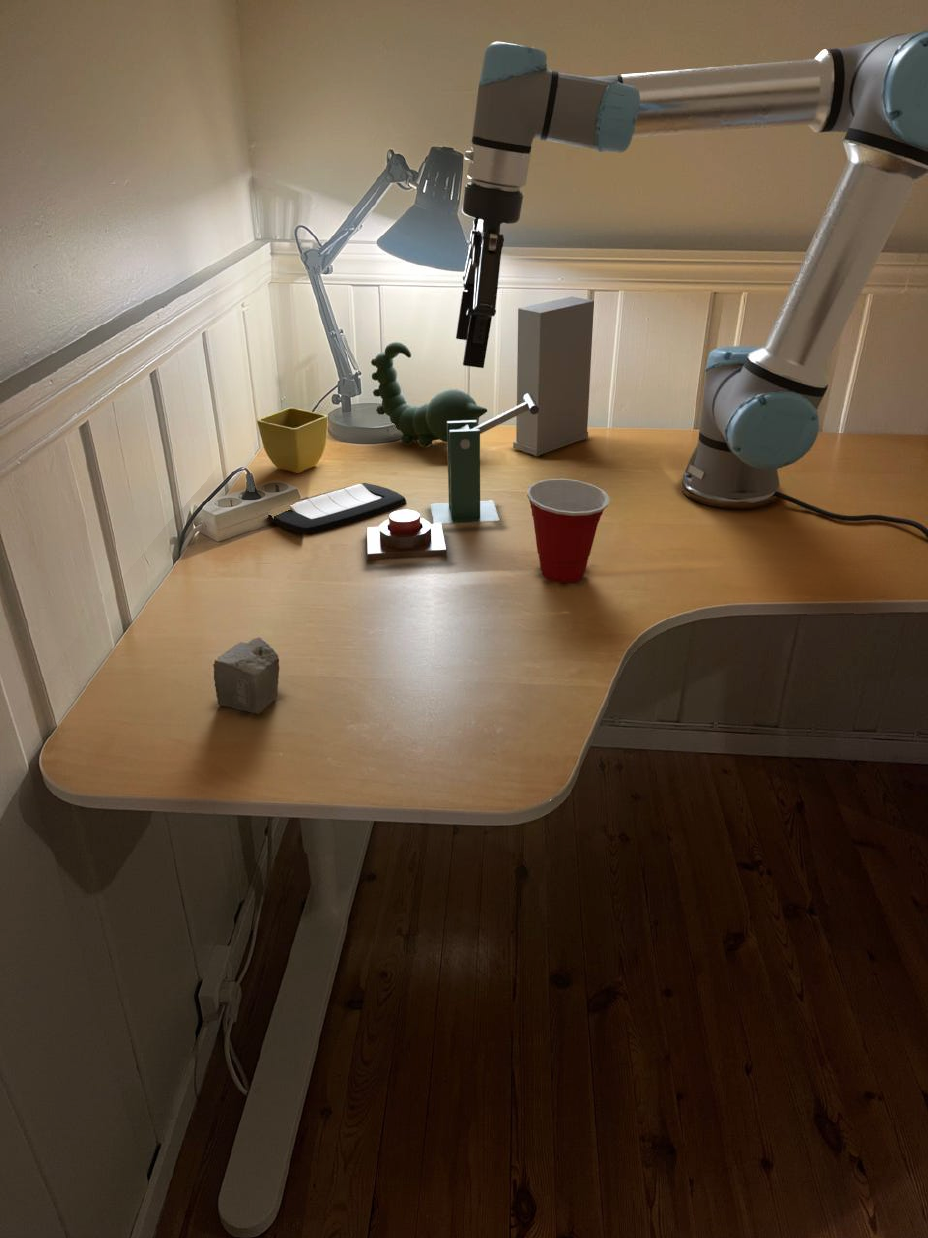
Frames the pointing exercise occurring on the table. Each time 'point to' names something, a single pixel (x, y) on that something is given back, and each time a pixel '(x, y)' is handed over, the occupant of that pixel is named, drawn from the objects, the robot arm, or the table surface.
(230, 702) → the mineral specimen
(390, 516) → the button
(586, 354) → the tall grey upright slab
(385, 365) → the toy figurine
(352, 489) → the light switch
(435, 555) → the button block
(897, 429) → the table surface
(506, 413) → the switch lever
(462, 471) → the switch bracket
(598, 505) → the plastic cup
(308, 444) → the flower pot
